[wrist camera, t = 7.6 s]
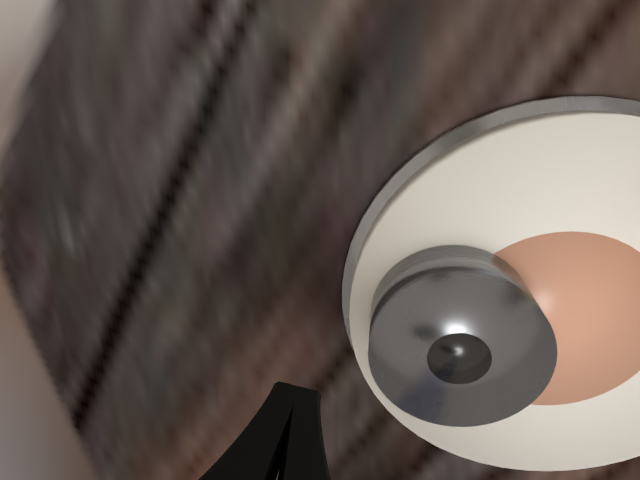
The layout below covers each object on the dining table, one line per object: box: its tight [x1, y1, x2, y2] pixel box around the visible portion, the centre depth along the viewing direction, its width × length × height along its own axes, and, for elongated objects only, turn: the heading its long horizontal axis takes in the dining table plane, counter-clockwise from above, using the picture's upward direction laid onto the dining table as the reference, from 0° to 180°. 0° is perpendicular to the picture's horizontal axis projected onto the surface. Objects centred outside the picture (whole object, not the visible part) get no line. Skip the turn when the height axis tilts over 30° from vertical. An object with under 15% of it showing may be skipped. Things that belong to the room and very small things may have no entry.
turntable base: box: [342, 96, 640, 353], centre depth 20 cm, size 19×19×1 cm
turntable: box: [349, 110, 640, 471], centre depth 17 cm, size 18×18×6 cm
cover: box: [368, 245, 557, 427], centre depth 17 cm, size 7×7×3 cm
